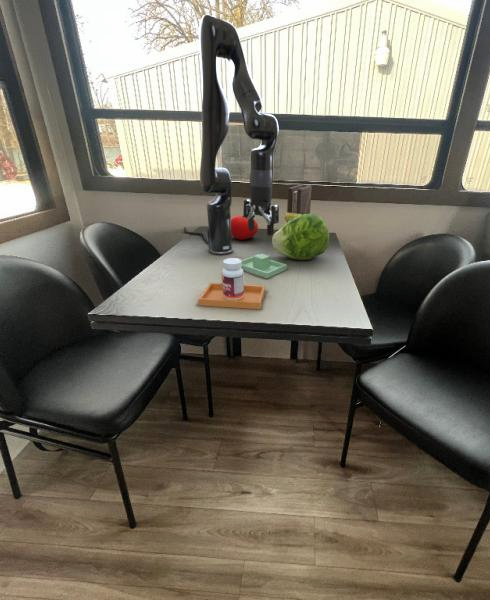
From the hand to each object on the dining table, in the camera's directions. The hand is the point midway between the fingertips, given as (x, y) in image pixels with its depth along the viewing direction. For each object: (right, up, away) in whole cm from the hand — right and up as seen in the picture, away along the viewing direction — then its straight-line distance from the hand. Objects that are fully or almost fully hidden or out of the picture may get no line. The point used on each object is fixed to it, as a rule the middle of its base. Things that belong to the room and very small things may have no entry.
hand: (260, 232), depth 105 cm
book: (+15, +6, +44) cm, 47 cm away
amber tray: (-6, -24, -16) cm, 29 cm away
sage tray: (0, -12, +6) cm, 14 cm away
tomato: (-12, +6, +41) cm, 44 cm away
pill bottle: (-6, -23, -16) cm, 29 cm away
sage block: (0, -12, +6) cm, 13 cm away
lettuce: (+15, -7, +19) cm, 25 cm away
